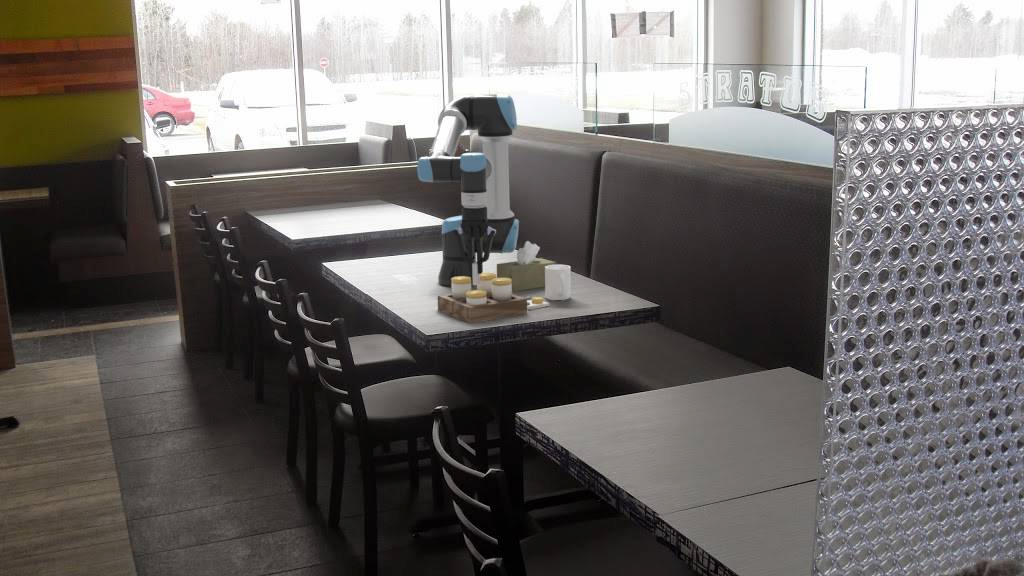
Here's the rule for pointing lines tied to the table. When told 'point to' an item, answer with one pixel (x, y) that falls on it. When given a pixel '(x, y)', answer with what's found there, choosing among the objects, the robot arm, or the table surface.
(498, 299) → the button
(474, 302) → the button
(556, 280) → the mug
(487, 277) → the button
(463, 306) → the board
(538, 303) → the card
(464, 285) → the button
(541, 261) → the tissue box
